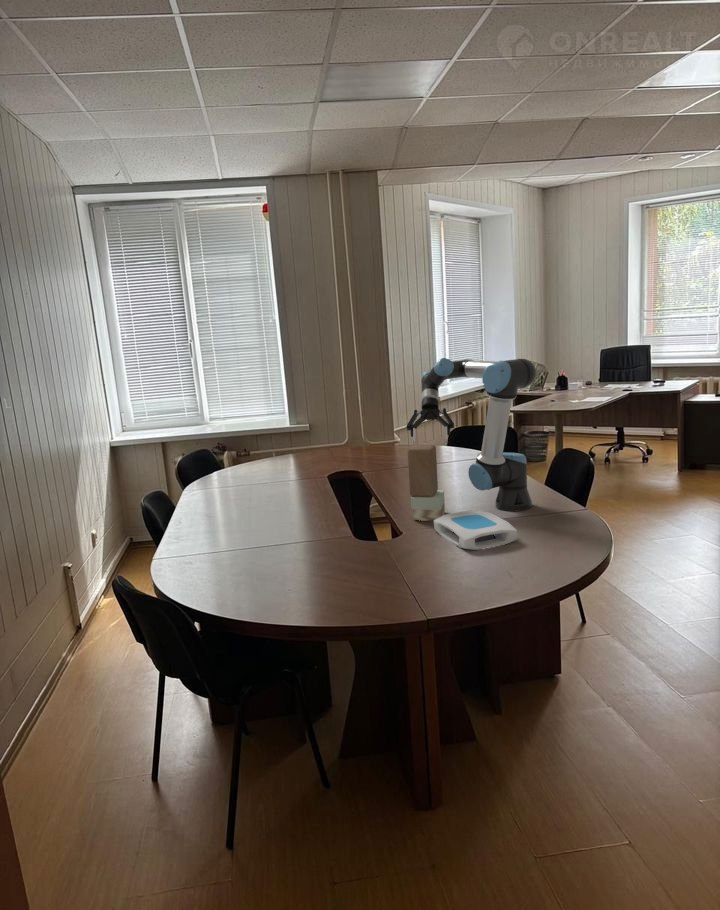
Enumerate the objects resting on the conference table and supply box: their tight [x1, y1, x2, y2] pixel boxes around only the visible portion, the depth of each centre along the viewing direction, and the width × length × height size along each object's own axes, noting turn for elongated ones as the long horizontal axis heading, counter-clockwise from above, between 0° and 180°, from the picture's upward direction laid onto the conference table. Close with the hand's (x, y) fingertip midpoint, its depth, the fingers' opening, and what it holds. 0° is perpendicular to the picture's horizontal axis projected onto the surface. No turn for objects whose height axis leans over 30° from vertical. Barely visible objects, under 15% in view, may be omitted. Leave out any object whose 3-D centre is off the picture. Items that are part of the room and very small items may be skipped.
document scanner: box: [433, 510, 518, 551], centre depth 248 cm, size 21×28×6 cm
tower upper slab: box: [410, 489, 446, 511], centre depth 277 cm, size 12×12×5 cm
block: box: [407, 444, 439, 497], centre depth 275 cm, size 10×10×20 cm
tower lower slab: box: [412, 502, 446, 522], centre depth 278 cm, size 12×12×5 cm
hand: (430, 441), depth 280 cm, fingers open, 13 cm apart
